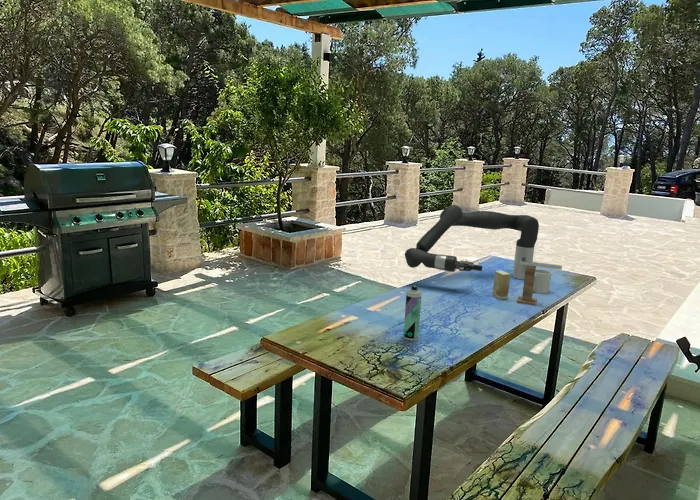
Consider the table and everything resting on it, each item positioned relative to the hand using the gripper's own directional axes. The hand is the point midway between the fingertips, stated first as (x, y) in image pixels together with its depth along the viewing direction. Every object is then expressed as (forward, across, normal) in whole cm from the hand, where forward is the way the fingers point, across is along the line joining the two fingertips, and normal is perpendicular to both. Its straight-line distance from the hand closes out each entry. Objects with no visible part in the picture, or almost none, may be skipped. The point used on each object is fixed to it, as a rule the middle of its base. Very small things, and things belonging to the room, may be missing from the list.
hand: (481, 268), depth 254 cm
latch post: (+22, 0, +12) cm, 25 cm away
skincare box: (+10, 0, +13) cm, 16 cm away
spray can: (-12, -69, +14) cm, 71 cm away
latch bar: (+25, 0, -5) cm, 26 cm away
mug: (+25, +21, +12) cm, 35 cm away
